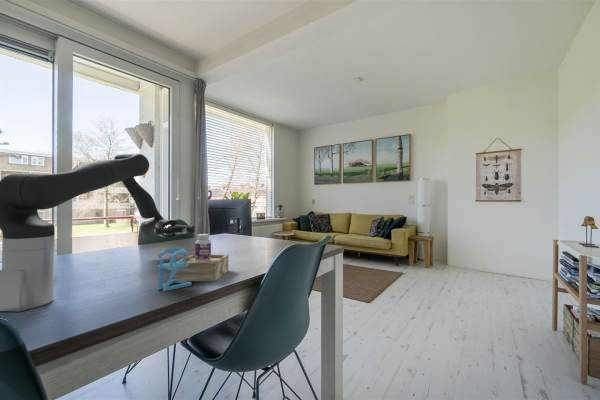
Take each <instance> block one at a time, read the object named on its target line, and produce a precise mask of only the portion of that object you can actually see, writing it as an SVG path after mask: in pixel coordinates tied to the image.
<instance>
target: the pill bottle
mask: <svg viewBox="0 0 600 400" xmlns="http://www.w3.org/2000/svg"><path fill="white" fill-rule="evenodd" d="M196 238H197V239H196V241H195V242H194V244H195V246H194V254H195V262H209V261H210V260H211V255H212V241H211V240H210V234H209V233H199V234H197V237H196Z"/></svg>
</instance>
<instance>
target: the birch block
mask: <svg viewBox="0 0 600 400" xmlns="http://www.w3.org/2000/svg"><path fill="white" fill-rule="evenodd" d="M177 261H178V262H183V258H182V259H179V260H177ZM186 263H189V266H186V267H183V268H181V269H179V270H178V271H177V272H176V274H175V275H174V277H173V280H174V279H177V280H182V281H187V282H216V281H218V280H219V279H220V278H221V277H223V276H224V275H225V274H226V273H227V272H228V271H229V254H211V260H210V261H209V262H195V253H194V254H191V255H188V256H186Z"/></svg>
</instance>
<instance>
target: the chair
mask: <svg viewBox="0 0 600 400" xmlns="http://www.w3.org/2000/svg"><path fill="white" fill-rule="evenodd" d="M188 252H189V251H187V250H186V249H185V248H183V247H181V246H180V247H179V246H177V247H174V248H173V247H171V248H166V249H165V250H163V251H161V252H160V253H157V256H158V258H159V264H156V266H155V267H156V269H158V280H157V288H156V290H157V291H160V290H162V292H167V291H172V290H176V289H181V288H186V287H190V286H192V282H193V281H182V280H177V279H174V275H175V274H176V272H177V271H178V270H179V269H181V268H183V267H186V266H189V263H186V257H188V256H187V255H188ZM168 253H169V258H170V260H169V262H164V259H163V257H162V256H164V255H166V254H168ZM178 255H182V256H183V258H182V259H183V262H178V261H179V260H176V259H177V258H176V257H177V256H178ZM166 270H167V271H170V273H169V275H168V278H167V280H166V282H165V283H164V282H163V281H164V275H165V271H166ZM175 283H177V284H175ZM172 284H174V285H172Z"/></svg>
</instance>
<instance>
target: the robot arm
mask: <svg viewBox="0 0 600 400" xmlns="http://www.w3.org/2000/svg"><path fill="white" fill-rule="evenodd" d="M149 169H150V162H149V159H148V157H146V156H145V155H143V154H141V153H135V152H134V153H119V154H116V155H115V156H114V158H112V159H111V158H110V159H97V160H91V161H86V162H82V163H79V164H77V165H76V166H74V167H73V169H71V170H70V171H64V172H56V173H27V172H26V173H18V172H17V173H11V174H7V175H6V176H4V177H2V178H1V179H0V230H1V233H2V241H1V245H2V249H1V250H2V251H1V269H0V312H17V313H18V312H23V311H26V310H30V309H35V308H39V307H42V306H45V305H48V304H50V303H51V302H53V301H54V291H55V290H54V287H55V280H54V277H55V239H56V237H55V226H54V224H52V223H51V222H48V221H46V220H44V219H42V218H41V217H40V215H39V211H40V210H41V211H42V210H43V211H44V210H50V209H54V208H56V207H58V206H60V205H63V204H64V203H66V202H68V201H70V200H73V199H74V198H76V197H78V196H81V195H84V194H89V193H92V192H94V191H98V190H101V189H104V188H107V187H109V186H111V185H115V184H118V183H119V182H121V183H122V184H123V185H124V187H125V188H126V190H127V191H128V193H129V194H130V196H131V197H132V199H133V201H134V204H135V205H136V208H137V210H138V213H139V215H140V217H141V218H142V219H144V220H145V219H146V220H147V221H145V222H143V223H142V225H141V232H142V234H143V235H144V236H146V237H149V238H153V237H157V236H160V237H162V238H167V239H172V238H175V237H177V235H185V234H187V233H188V234H194V233H195V231H196V230H195V227H196V226H195V225H188V224H187V225H185V224H183V225H182V224H180V223H178V222H177V221H176V220H173V219H165V218H164V217H163V216H162V215H161V214H160V212H159V210H158V208H157V205H156V203H155V200H154V198H153V197H152V195H151V194H150V193H149V192H148V191H147V190H146V189H144V187H142V186H141V184H139V182H137V180H136V178H135V177H141V176H142V177H143V176H144V175H145V174H147V172H148V171H149ZM38 210H39V211H38ZM148 219H149V220H148Z"/></svg>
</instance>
